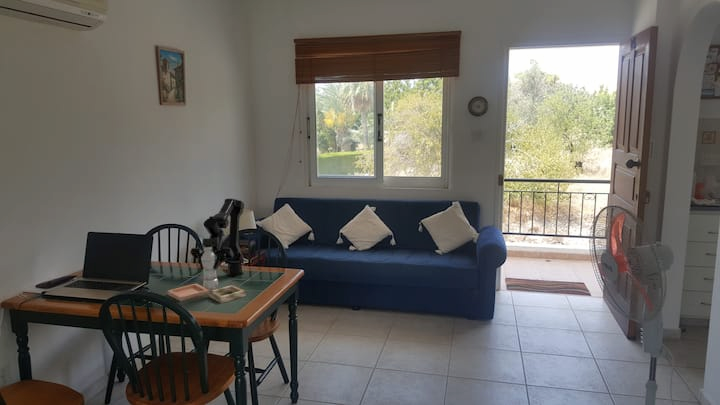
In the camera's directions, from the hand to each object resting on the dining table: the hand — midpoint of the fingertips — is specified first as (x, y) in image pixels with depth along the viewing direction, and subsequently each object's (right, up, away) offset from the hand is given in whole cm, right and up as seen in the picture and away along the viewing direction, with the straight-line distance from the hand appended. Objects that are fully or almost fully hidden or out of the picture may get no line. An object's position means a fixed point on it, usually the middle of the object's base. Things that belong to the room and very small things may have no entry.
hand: (208, 269), depth 220 cm
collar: (+8, -13, +3) cm, 15 cm away
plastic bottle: (0, -9, +3) cm, 10 cm away
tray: (-11, -13, +7) cm, 18 cm away
